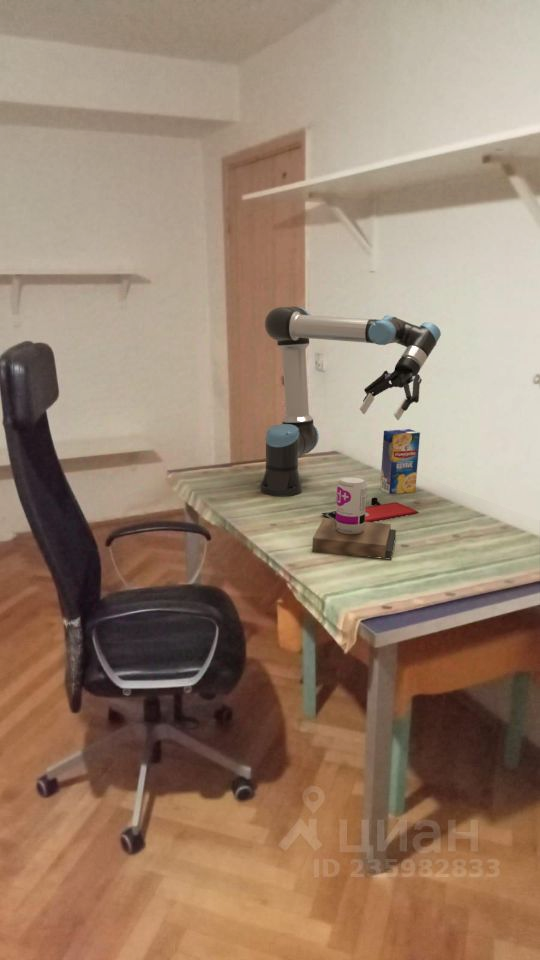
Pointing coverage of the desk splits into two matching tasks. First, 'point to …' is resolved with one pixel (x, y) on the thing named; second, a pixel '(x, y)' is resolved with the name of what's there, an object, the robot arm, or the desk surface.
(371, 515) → the red board with handle
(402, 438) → the beverage box
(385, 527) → the brown flat block
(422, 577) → the desk surface
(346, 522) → the supplement can
